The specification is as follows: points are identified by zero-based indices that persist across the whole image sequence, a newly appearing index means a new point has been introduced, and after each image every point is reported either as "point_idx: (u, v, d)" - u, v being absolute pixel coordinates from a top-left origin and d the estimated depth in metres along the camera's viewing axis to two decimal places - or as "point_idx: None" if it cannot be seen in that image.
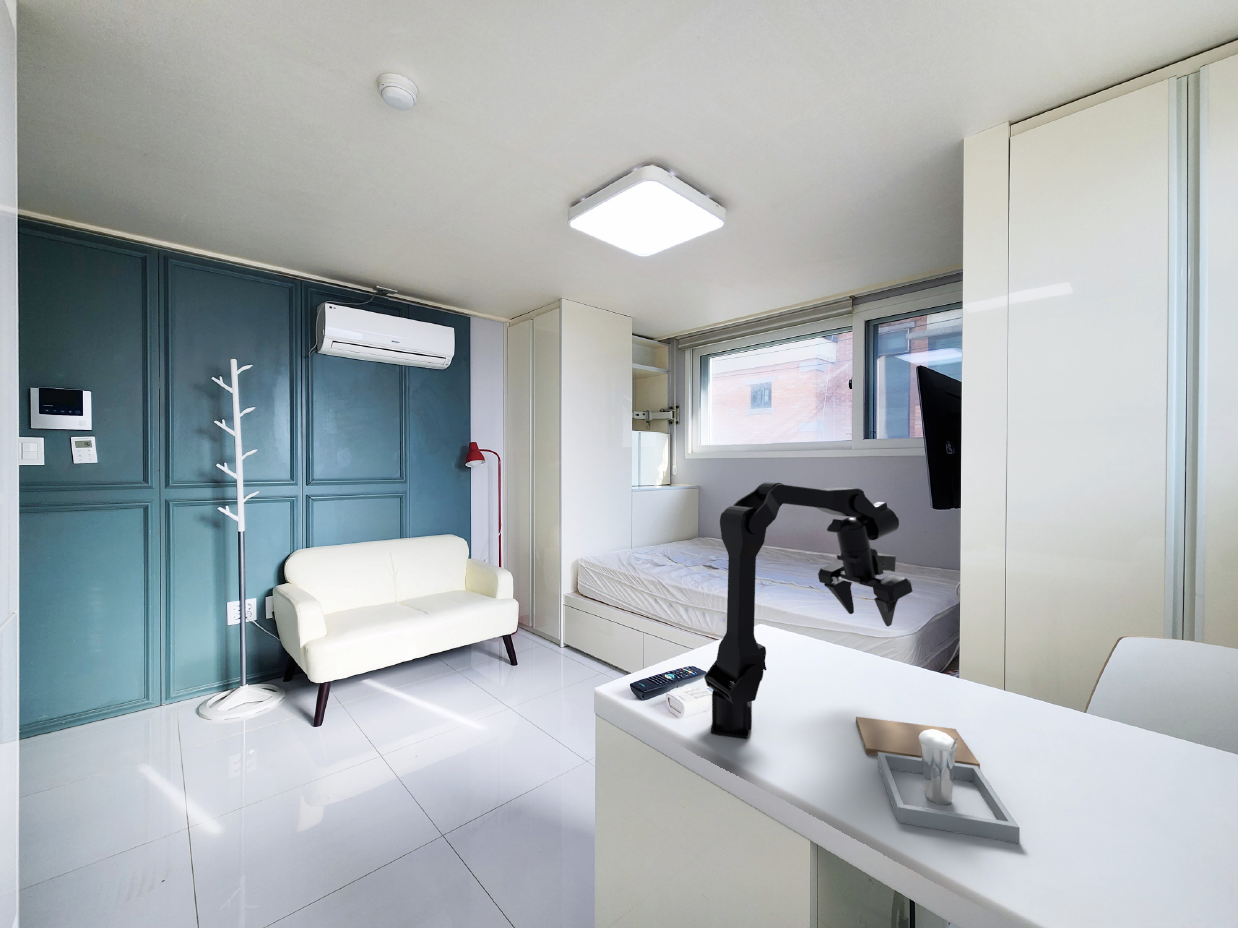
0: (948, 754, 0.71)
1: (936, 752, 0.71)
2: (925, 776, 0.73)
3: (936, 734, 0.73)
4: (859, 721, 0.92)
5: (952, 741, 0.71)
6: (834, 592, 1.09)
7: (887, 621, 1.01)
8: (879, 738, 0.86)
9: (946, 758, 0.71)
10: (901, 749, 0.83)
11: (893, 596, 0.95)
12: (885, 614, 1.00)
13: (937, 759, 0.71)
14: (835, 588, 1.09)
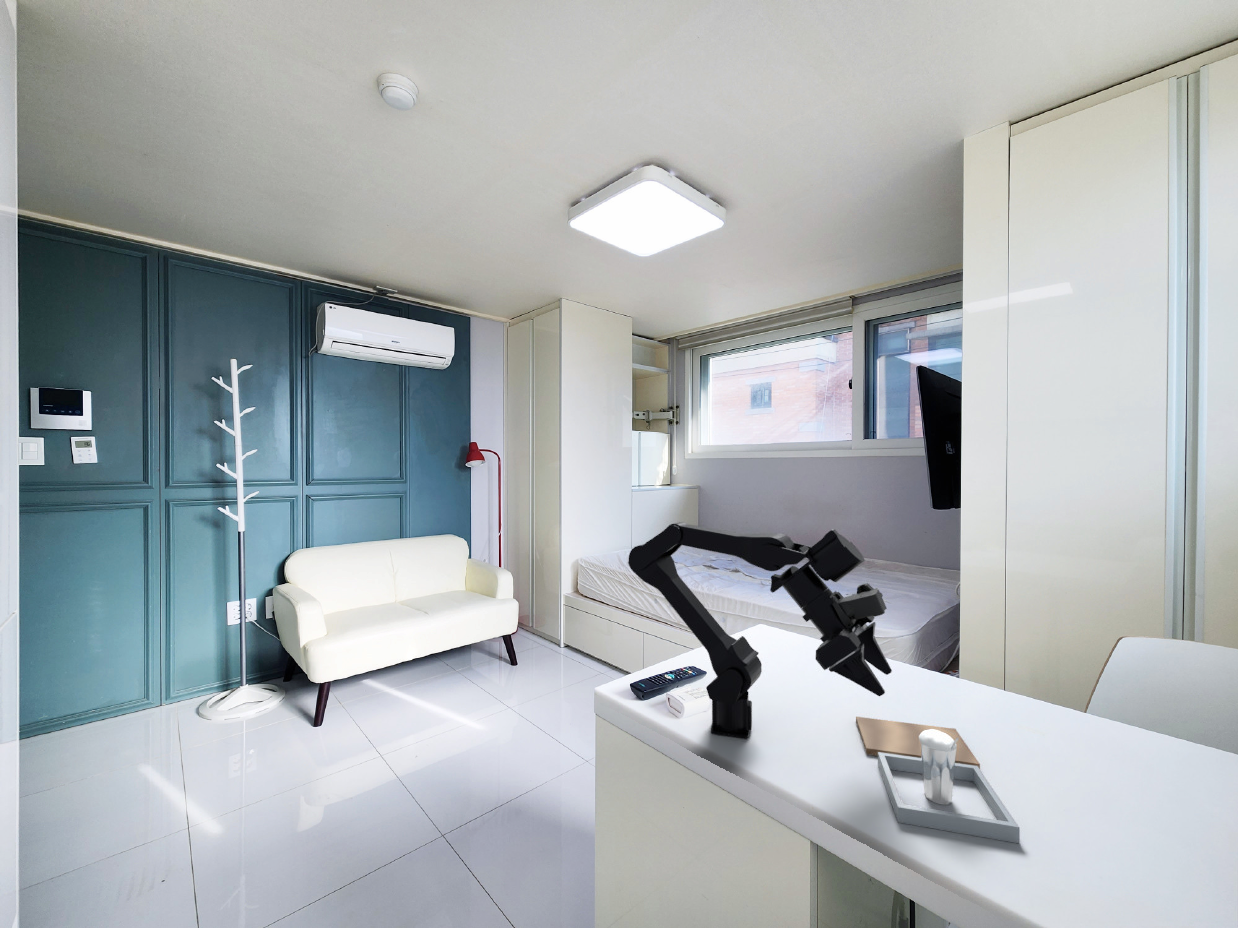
0: (948, 754, 0.71)
1: (936, 752, 0.71)
2: (925, 776, 0.73)
3: (936, 734, 0.73)
4: (859, 721, 0.92)
5: (952, 741, 0.71)
6: None
7: (870, 690, 0.75)
8: (879, 738, 0.86)
9: (946, 758, 0.71)
10: (901, 749, 0.83)
11: (822, 663, 0.75)
12: (856, 682, 0.76)
13: (937, 759, 0.71)
14: None
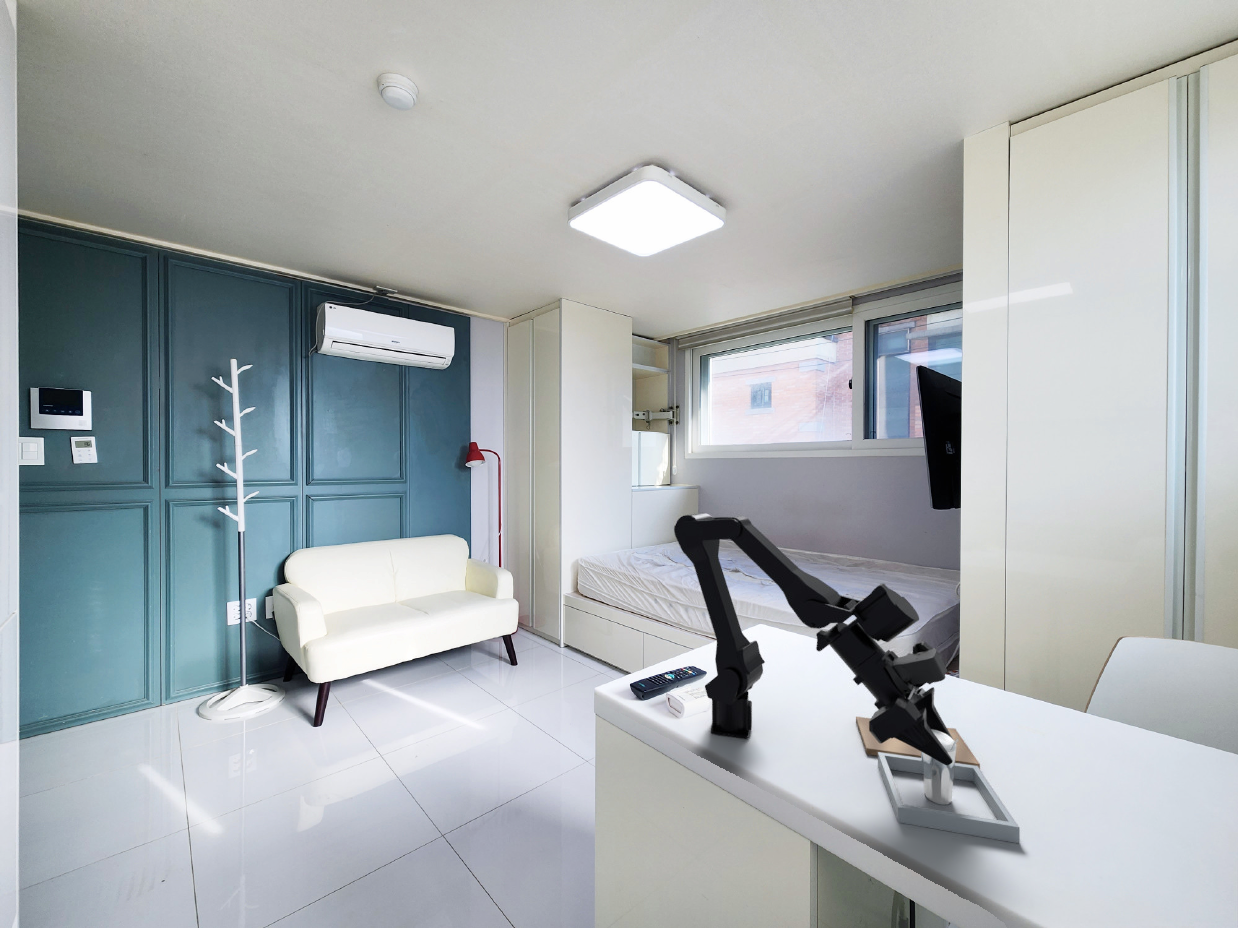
0: None
1: None
2: (925, 776, 0.72)
3: (936, 735, 0.72)
4: (859, 721, 0.92)
5: (952, 742, 0.71)
6: None
7: (936, 758, 0.70)
8: None
9: None
10: (901, 749, 0.83)
11: (876, 736, 0.69)
12: (920, 749, 0.71)
13: (936, 760, 0.71)
14: None
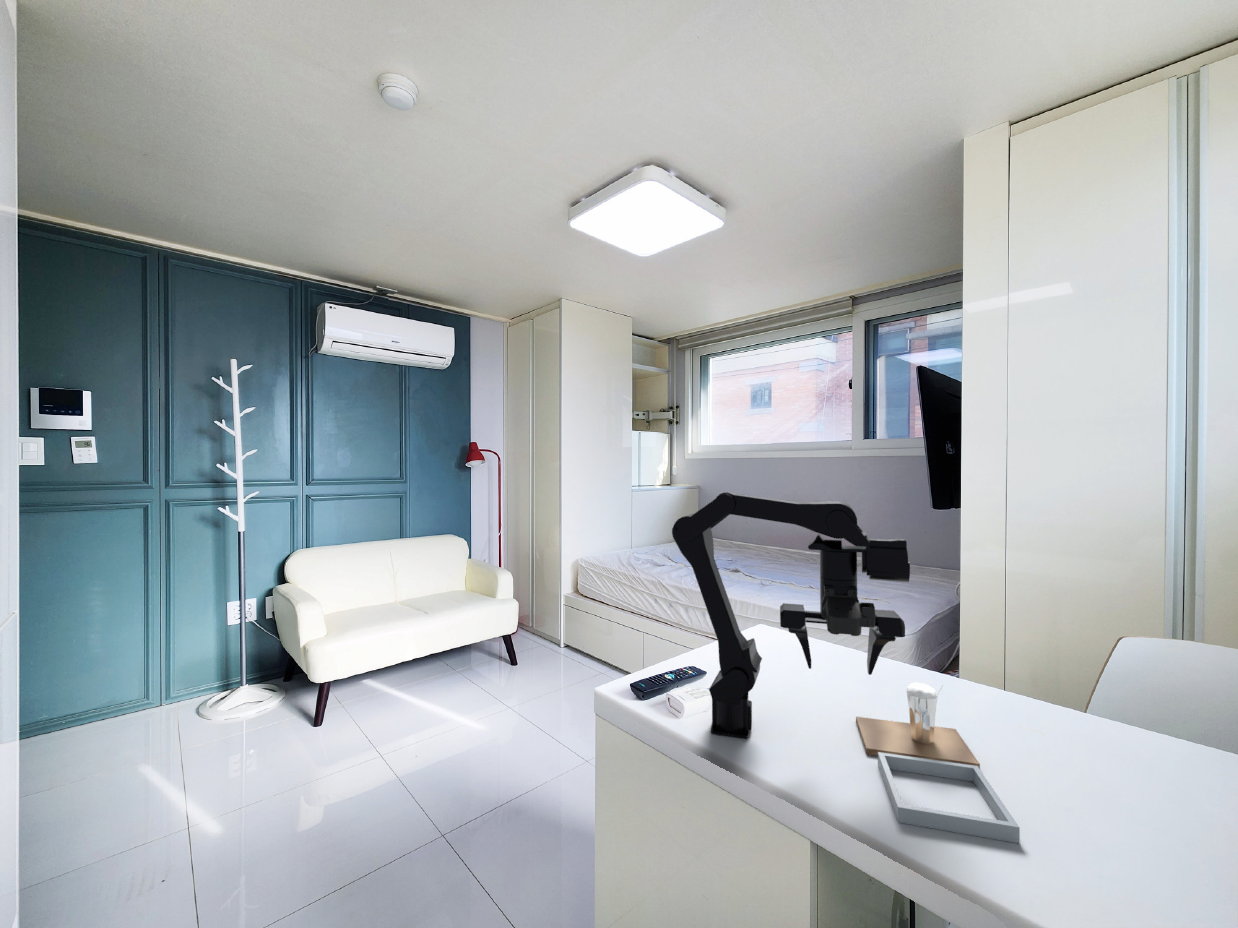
0: (935, 700, 0.84)
1: (927, 701, 0.84)
2: (916, 723, 0.85)
3: (921, 686, 0.86)
4: (859, 721, 0.92)
5: (934, 689, 0.86)
6: None
7: None
8: (879, 738, 0.86)
9: (934, 704, 0.84)
10: (901, 749, 0.83)
11: None
12: None
13: (928, 707, 0.84)
14: (869, 629, 0.86)
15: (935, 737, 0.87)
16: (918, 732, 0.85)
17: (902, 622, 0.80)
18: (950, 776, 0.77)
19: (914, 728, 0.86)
